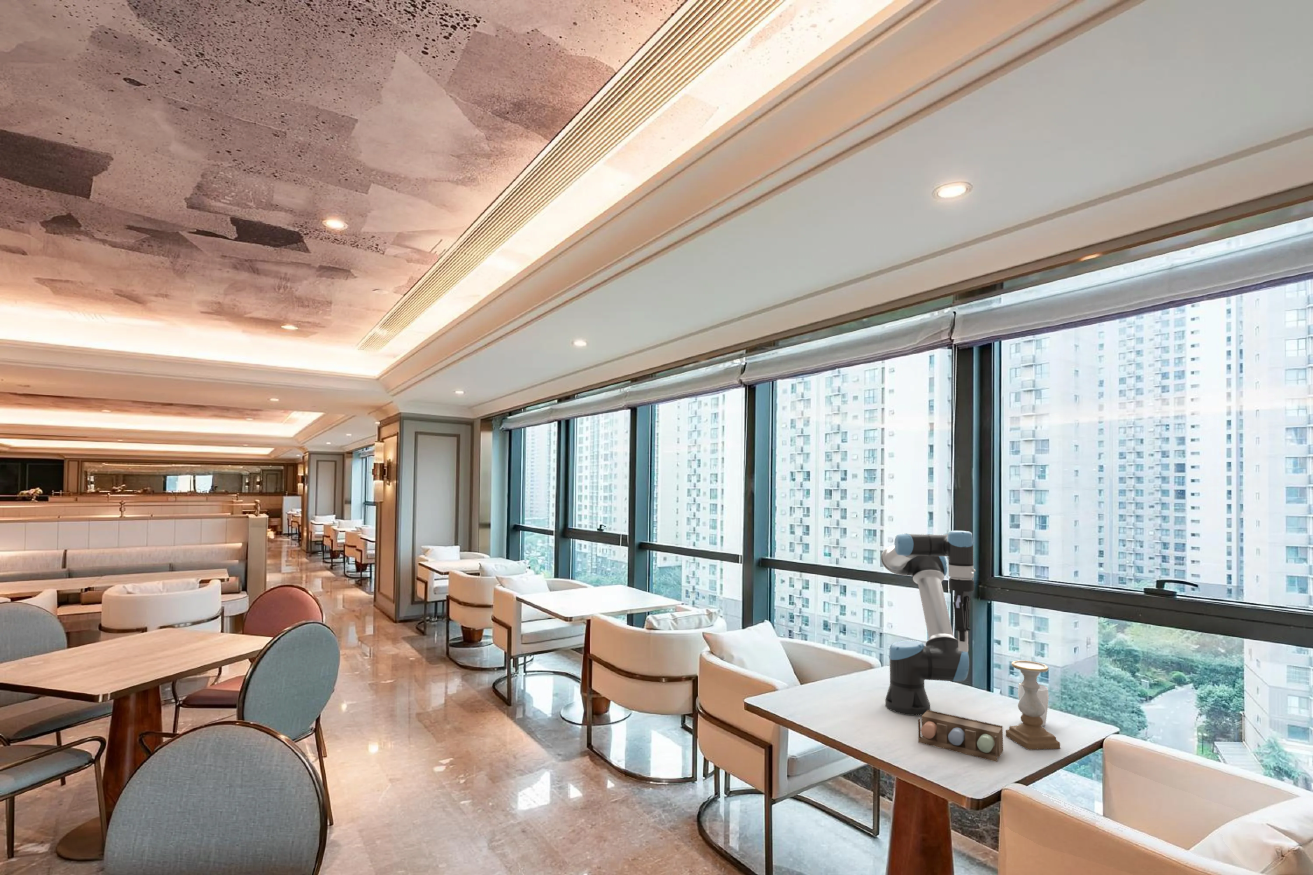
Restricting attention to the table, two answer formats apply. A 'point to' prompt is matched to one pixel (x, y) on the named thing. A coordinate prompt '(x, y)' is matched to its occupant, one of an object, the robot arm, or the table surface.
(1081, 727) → the table surface
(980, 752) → the console
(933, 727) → the button terracotta
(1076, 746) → the table surface
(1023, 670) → the candle holder
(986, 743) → the button sage
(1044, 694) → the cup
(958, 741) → the button slate
